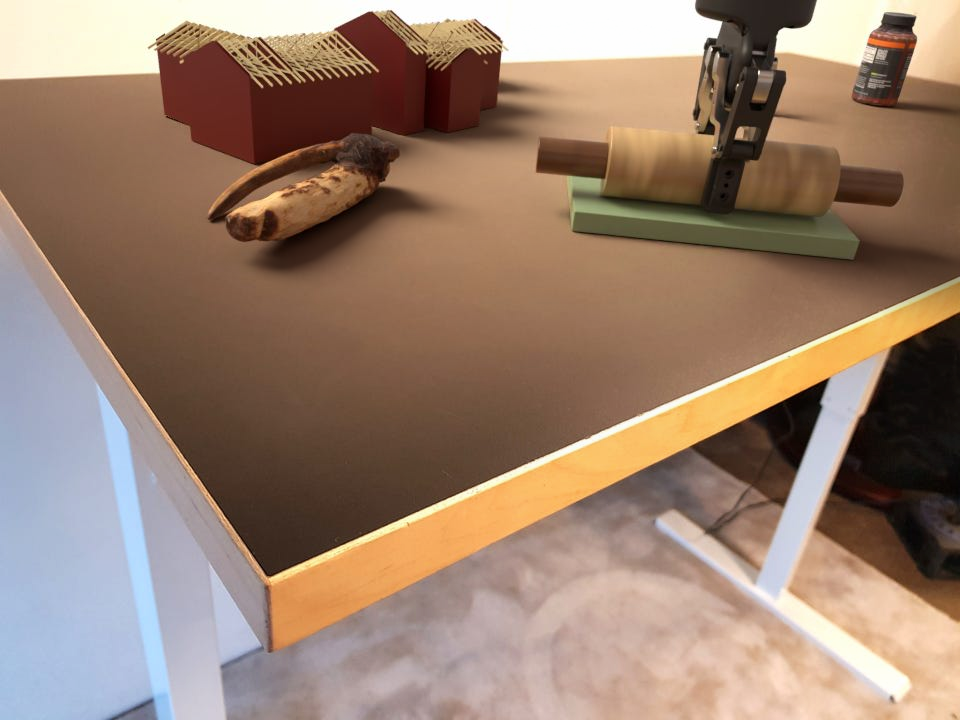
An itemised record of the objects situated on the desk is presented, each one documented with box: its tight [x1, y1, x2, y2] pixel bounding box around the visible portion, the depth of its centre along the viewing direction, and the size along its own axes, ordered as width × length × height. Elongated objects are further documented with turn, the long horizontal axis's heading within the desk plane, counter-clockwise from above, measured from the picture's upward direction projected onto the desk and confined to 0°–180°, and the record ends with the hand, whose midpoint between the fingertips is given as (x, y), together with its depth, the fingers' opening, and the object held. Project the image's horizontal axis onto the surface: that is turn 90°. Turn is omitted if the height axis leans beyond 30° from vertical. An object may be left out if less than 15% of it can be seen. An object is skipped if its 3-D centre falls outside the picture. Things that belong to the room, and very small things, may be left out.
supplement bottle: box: [851, 11, 918, 107], centre depth 106 cm, size 6×6×11 cm
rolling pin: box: [534, 125, 905, 217], centre depth 58 cm, size 26×5×5 cm, turn 86°
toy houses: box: [147, 9, 509, 165], centre depth 80 cm, size 45×20×10 cm, turn 142°
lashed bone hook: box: [206, 133, 401, 243], centre depth 53 cm, size 9×5×18 cm
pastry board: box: [565, 176, 861, 261], centre depth 63 cm, size 20×18×2 cm
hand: (708, 197), depth 59 cm, fingers closed on rolling pin, 5 cm apart
